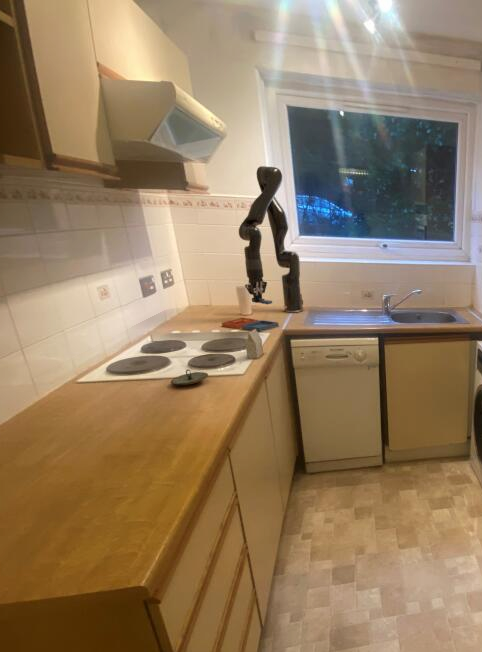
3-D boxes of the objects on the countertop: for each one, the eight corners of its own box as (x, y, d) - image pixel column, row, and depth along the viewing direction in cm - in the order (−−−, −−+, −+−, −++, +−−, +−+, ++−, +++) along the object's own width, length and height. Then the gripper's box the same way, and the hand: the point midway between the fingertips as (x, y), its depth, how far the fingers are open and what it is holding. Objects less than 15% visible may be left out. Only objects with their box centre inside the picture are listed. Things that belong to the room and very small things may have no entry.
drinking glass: (239, 313, 238) (235, 285, 232) (253, 312, 241) (249, 285, 235) (239, 315, 232) (235, 287, 227) (253, 315, 235) (249, 287, 230)
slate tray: (262, 323, 218) (261, 320, 217) (278, 326, 216) (278, 322, 215) (242, 329, 206) (242, 325, 206) (259, 331, 204) (259, 327, 203)
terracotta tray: (242, 321, 221) (242, 317, 221) (258, 323, 219) (258, 319, 218) (222, 326, 209) (221, 322, 209) (238, 328, 207) (238, 324, 206)
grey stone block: (263, 353, 173) (260, 329, 170) (257, 358, 167) (254, 333, 163) (253, 353, 173) (250, 328, 169) (247, 358, 166) (244, 332, 163)
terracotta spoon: (235, 326, 209) (235, 322, 208) (229, 325, 210) (229, 321, 209) (251, 322, 218) (251, 318, 218) (245, 321, 219) (245, 317, 218)
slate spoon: (250, 302, 224) (250, 298, 223) (255, 301, 227) (255, 297, 226) (267, 304, 221) (267, 300, 220) (272, 303, 224) (272, 299, 223)
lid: (210, 389, 140) (212, 374, 139) (174, 388, 133) (175, 372, 132) (202, 381, 147) (204, 367, 146) (167, 379, 140) (169, 364, 139)
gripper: (250, 269, 211) (254, 305, 217) (269, 267, 223) (273, 300, 230) (237, 268, 213) (242, 303, 219) (257, 266, 225) (261, 299, 232)
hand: (258, 302), depth 224 cm, fingers closed on slate spoon, 2 cm apart
